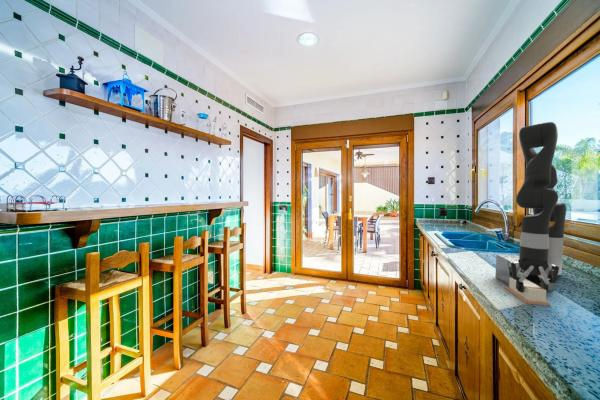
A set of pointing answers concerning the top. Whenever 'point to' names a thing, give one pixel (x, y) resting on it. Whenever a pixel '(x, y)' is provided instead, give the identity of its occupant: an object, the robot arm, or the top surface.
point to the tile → (526, 299)
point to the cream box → (529, 290)
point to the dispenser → (503, 270)
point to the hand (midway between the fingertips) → (531, 292)
